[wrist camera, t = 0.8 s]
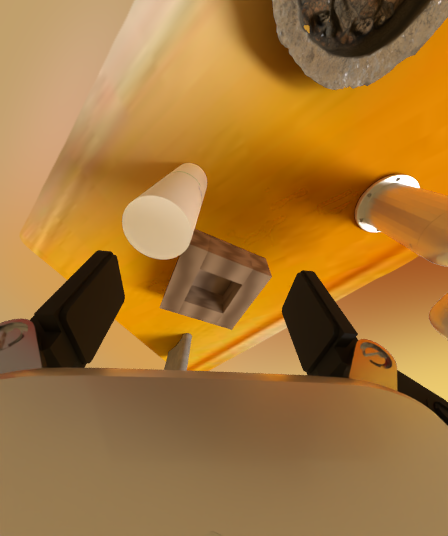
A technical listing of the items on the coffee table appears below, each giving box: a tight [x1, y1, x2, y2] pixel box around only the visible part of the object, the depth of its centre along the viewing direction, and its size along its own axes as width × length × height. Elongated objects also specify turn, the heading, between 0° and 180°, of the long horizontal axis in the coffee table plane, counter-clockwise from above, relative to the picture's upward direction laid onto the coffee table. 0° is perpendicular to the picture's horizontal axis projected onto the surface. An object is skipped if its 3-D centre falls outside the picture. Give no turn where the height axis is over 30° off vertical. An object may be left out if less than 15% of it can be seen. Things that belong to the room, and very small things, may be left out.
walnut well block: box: [160, 229, 272, 330], centre depth 51 cm, size 21×21×8 cm
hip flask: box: [164, 333, 192, 371], centre depth 65 cm, size 16×4×20 cm, turn 147°
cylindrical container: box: [122, 163, 207, 259], centre depth 31 cm, size 7×7×25 cm
